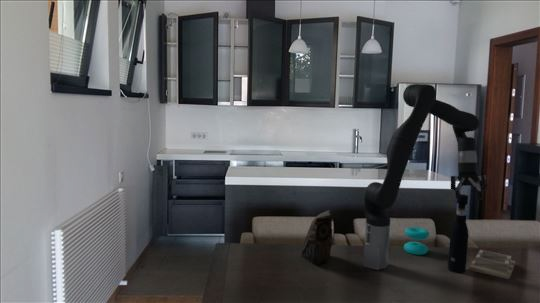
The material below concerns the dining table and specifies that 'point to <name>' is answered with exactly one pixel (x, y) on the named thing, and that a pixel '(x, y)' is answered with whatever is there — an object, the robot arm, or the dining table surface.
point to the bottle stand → (493, 264)
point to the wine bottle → (459, 238)
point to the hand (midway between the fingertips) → (469, 200)
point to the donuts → (416, 234)
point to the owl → (318, 240)
